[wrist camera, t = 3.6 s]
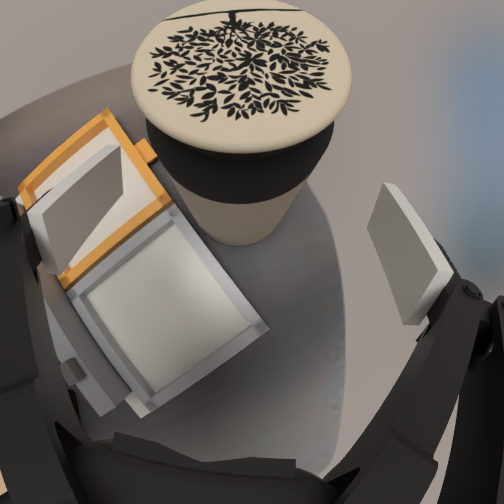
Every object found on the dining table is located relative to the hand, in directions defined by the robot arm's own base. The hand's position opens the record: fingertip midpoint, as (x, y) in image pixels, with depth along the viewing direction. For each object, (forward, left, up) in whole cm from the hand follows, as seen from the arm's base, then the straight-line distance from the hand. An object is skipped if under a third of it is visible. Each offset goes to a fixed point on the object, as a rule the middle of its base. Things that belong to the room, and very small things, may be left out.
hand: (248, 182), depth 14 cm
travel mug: (-2, +1, -12) cm, 12 cm away
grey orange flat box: (-5, -10, -12) cm, 16 cm away
